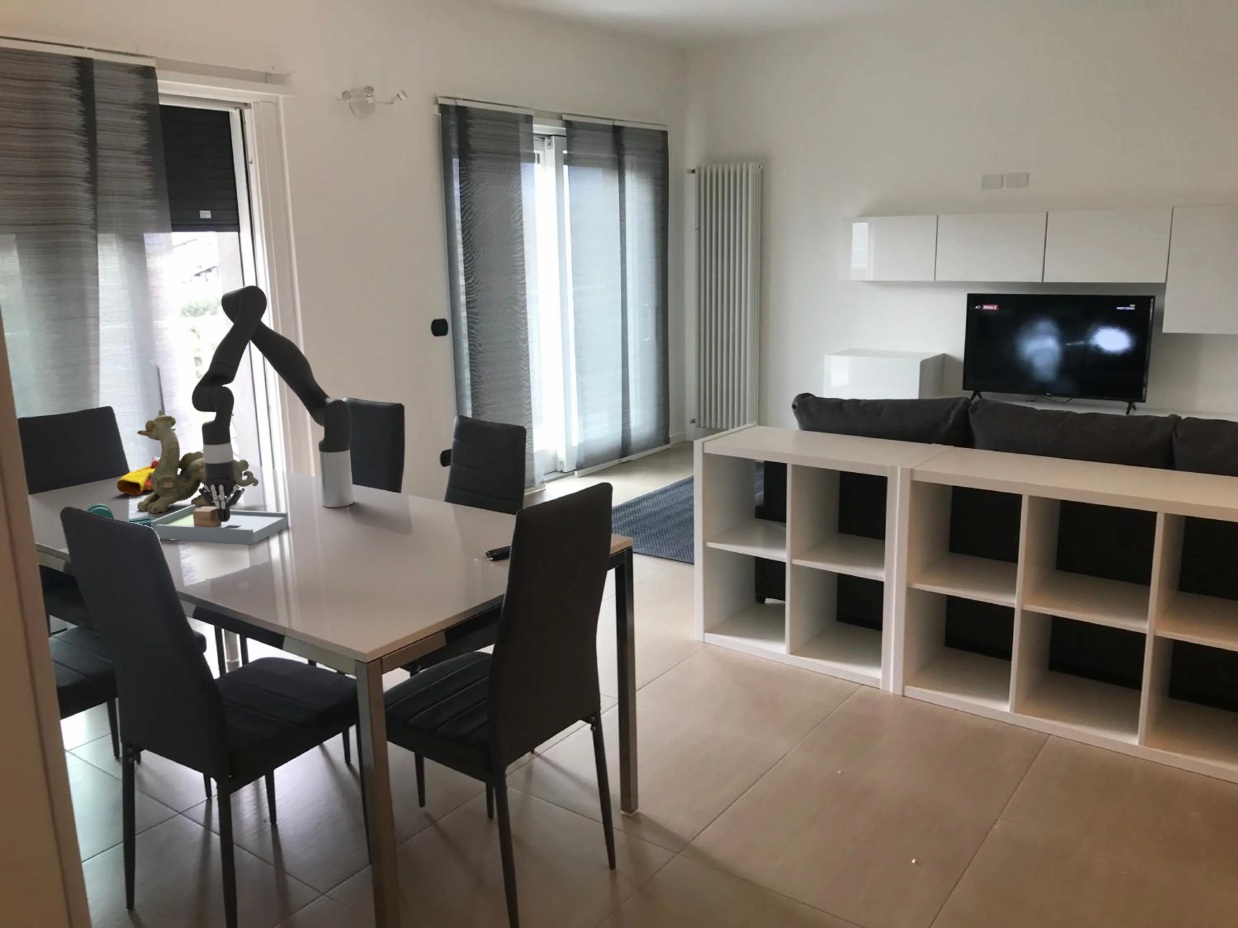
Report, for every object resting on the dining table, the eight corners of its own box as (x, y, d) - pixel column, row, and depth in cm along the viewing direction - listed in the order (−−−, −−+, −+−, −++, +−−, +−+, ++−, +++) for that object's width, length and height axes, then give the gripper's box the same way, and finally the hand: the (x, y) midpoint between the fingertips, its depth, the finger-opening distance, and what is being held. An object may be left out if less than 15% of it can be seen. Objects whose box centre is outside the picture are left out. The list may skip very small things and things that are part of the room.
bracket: (88, 537, 274) (85, 510, 272) (86, 532, 280) (83, 505, 278) (159, 528, 283) (156, 501, 281) (156, 523, 289) (153, 497, 287)
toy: (152, 475, 319) (192, 448, 347) (113, 475, 319) (156, 448, 347) (156, 501, 321) (195, 472, 350) (117, 501, 321) (159, 472, 350)
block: (205, 523, 275) (203, 506, 274) (221, 524, 274) (219, 507, 273) (194, 528, 270) (192, 510, 269) (211, 529, 269) (209, 511, 268)
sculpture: (213, 487, 330) (220, 401, 321) (255, 517, 314) (264, 428, 305) (123, 498, 308) (128, 407, 299) (163, 531, 292) (170, 435, 283)
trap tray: (194, 521, 290) (192, 504, 289) (288, 526, 284) (287, 509, 283) (152, 539, 271) (150, 521, 270) (252, 544, 266) (250, 526, 265)
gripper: (248, 457, 270) (253, 518, 274) (204, 456, 273) (210, 517, 276) (233, 462, 263) (238, 525, 267) (188, 461, 266) (194, 523, 269)
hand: (224, 521), depth 271 cm, fingers closed
